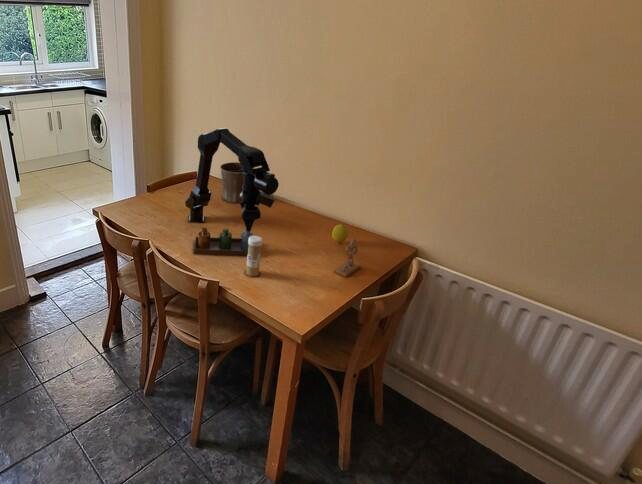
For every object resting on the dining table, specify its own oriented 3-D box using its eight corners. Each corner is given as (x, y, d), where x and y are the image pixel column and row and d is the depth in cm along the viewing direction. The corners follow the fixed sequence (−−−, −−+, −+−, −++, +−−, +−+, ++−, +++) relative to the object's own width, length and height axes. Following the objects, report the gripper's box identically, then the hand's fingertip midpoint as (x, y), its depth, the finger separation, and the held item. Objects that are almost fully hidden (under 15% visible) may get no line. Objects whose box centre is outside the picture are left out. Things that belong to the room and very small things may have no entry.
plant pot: (254, 204, 195) (257, 172, 188) (220, 204, 195) (221, 172, 188) (249, 192, 209) (251, 162, 202) (217, 192, 210) (218, 162, 203)
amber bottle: (198, 243, 158) (198, 226, 155) (210, 243, 158) (210, 226, 155) (197, 249, 154) (198, 231, 151) (209, 249, 154) (210, 231, 151)
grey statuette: (348, 263, 145) (354, 233, 140) (359, 267, 142) (365, 237, 137) (335, 272, 140) (341, 241, 135) (346, 277, 137) (352, 245, 132)
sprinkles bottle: (243, 273, 139) (245, 238, 134) (250, 268, 143) (253, 233, 137) (255, 278, 137) (258, 242, 131) (261, 272, 140) (265, 237, 134)
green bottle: (219, 244, 158) (219, 226, 155) (231, 244, 157) (232, 227, 154) (219, 249, 154) (219, 232, 150) (231, 250, 153) (232, 232, 150)
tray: (195, 241, 161) (195, 236, 160) (254, 243, 159) (255, 238, 158) (193, 253, 152) (193, 249, 151) (257, 256, 150) (257, 251, 149)
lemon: (345, 240, 161) (349, 222, 157) (346, 247, 156) (349, 228, 153) (330, 238, 162) (334, 220, 159) (330, 245, 158) (334, 226, 154)
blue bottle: (240, 245, 157) (241, 226, 154) (251, 245, 157) (253, 226, 153) (240, 250, 153) (242, 231, 150) (252, 251, 153) (254, 231, 149)
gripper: (277, 196, 135) (273, 238, 142) (270, 177, 152) (267, 216, 159) (243, 195, 136) (240, 236, 143) (240, 177, 153) (238, 215, 160)
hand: (247, 225), depth 151 cm, fingers open, 9 cm apart
